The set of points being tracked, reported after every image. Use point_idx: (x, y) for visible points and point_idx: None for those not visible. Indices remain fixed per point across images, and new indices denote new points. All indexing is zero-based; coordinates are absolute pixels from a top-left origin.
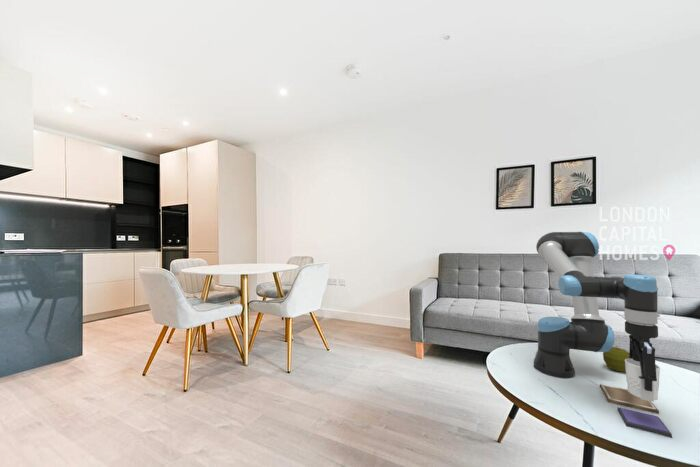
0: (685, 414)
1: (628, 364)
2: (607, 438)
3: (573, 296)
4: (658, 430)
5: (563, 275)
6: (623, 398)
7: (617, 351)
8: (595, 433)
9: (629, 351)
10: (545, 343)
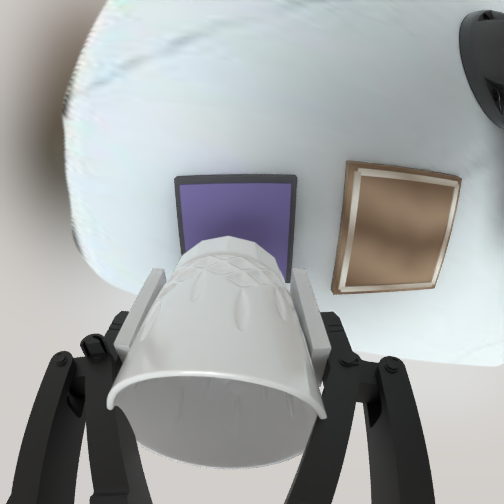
0: (355, 338)
1: (147, 362)
2: (70, 120)
3: None
4: None
5: None
6: (382, 220)
7: None
8: (77, 92)
9: (419, 432)
10: None
